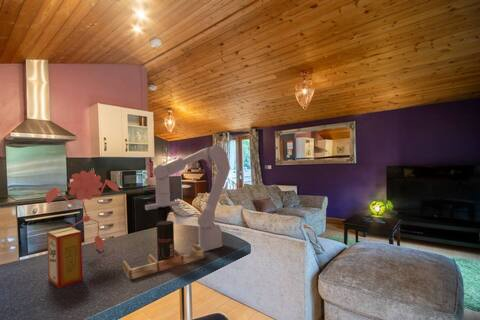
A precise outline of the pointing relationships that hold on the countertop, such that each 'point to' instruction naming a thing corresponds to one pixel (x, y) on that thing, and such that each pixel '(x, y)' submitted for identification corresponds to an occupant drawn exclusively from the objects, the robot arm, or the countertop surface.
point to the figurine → (84, 194)
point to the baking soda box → (64, 256)
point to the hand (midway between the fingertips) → (163, 224)
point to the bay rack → (164, 263)
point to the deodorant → (165, 240)
